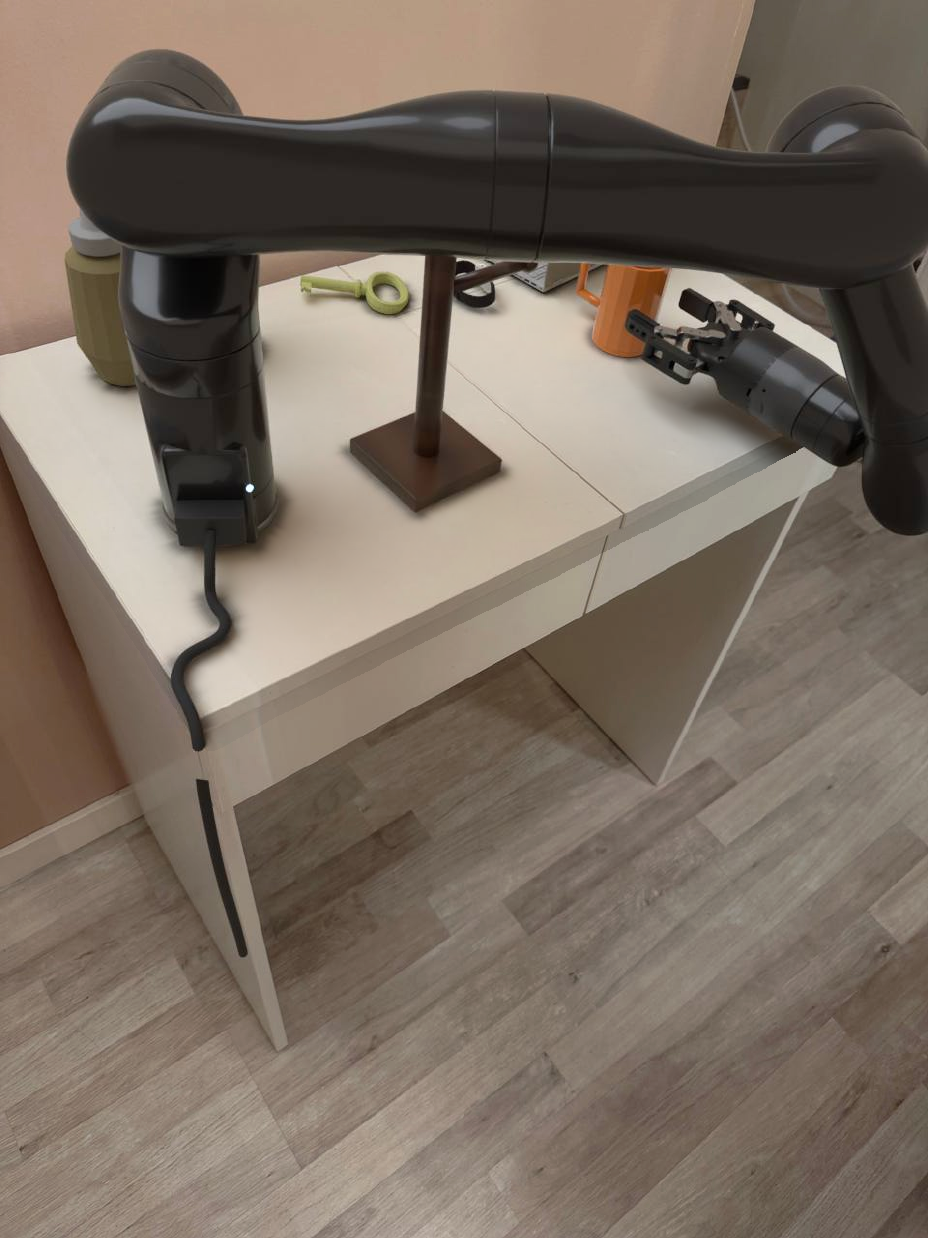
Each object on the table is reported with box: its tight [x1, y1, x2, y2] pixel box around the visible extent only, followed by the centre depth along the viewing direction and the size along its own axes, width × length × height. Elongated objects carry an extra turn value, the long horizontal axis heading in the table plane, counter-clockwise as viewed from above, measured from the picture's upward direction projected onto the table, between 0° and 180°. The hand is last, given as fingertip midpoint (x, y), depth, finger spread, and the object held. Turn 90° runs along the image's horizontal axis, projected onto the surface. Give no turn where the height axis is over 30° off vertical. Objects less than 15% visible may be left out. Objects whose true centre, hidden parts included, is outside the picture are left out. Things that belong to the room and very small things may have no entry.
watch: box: [453, 259, 496, 309], centre depth 99 cm, size 8×5×4 cm, turn 29°
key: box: [299, 271, 410, 315], centre depth 97 cm, size 7×12×2 cm, turn 113°
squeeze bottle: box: [64, 208, 137, 387], centre depth 78 cm, size 8×8×18 cm
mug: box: [574, 263, 673, 358], centre depth 95 cm, size 11×6×10 cm, turn 40°
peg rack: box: [349, 256, 538, 513], centre depth 73 cm, size 16×10×24 cm, turn 130°
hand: (655, 306), depth 91 cm, fingers open, 8 cm apart
